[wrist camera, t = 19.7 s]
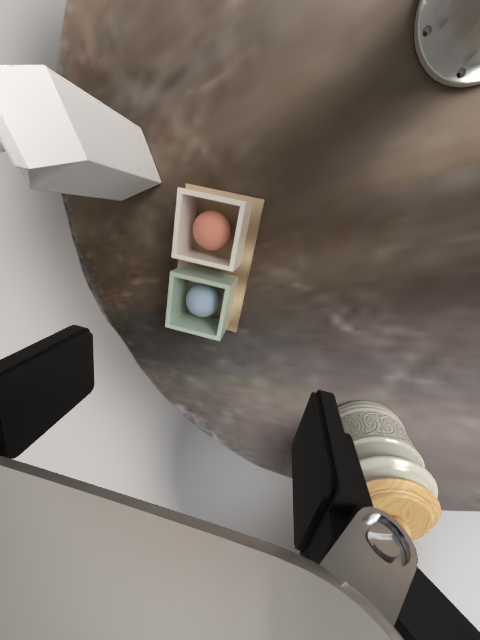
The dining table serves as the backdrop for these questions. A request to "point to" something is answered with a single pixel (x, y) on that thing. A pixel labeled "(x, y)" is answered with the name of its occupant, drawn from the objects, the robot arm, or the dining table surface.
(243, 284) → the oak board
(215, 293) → the slate ball
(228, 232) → the coral ball
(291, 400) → the dining table surface
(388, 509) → the jar
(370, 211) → the dining table surface
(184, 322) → the sage cup
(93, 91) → the dining table surface
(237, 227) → the cream cup
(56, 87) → the milk carton
